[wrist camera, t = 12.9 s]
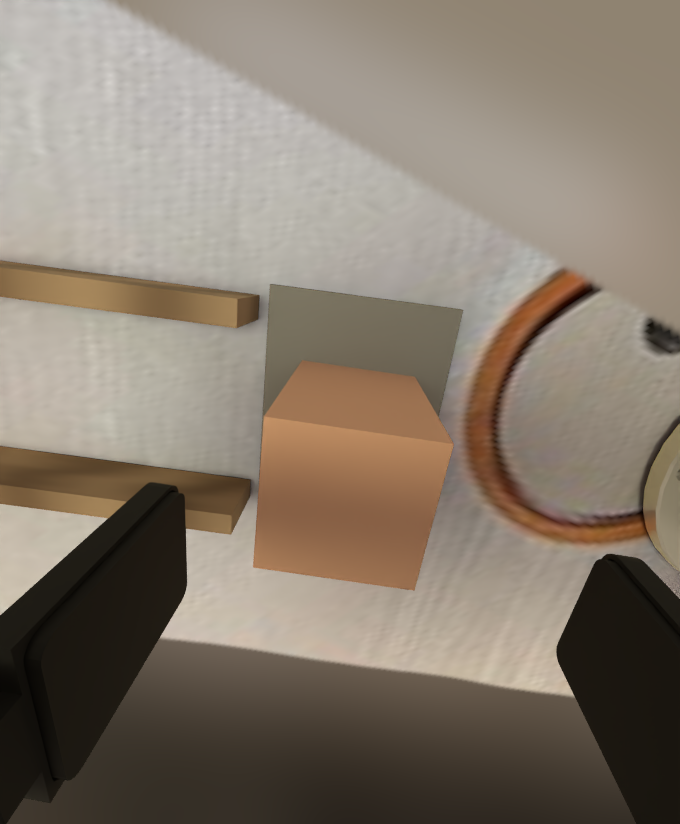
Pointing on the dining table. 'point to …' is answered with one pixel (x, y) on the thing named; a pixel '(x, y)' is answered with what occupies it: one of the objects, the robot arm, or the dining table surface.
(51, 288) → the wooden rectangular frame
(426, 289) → the dining table surface
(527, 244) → the dining table surface
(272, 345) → the mat
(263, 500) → the block
